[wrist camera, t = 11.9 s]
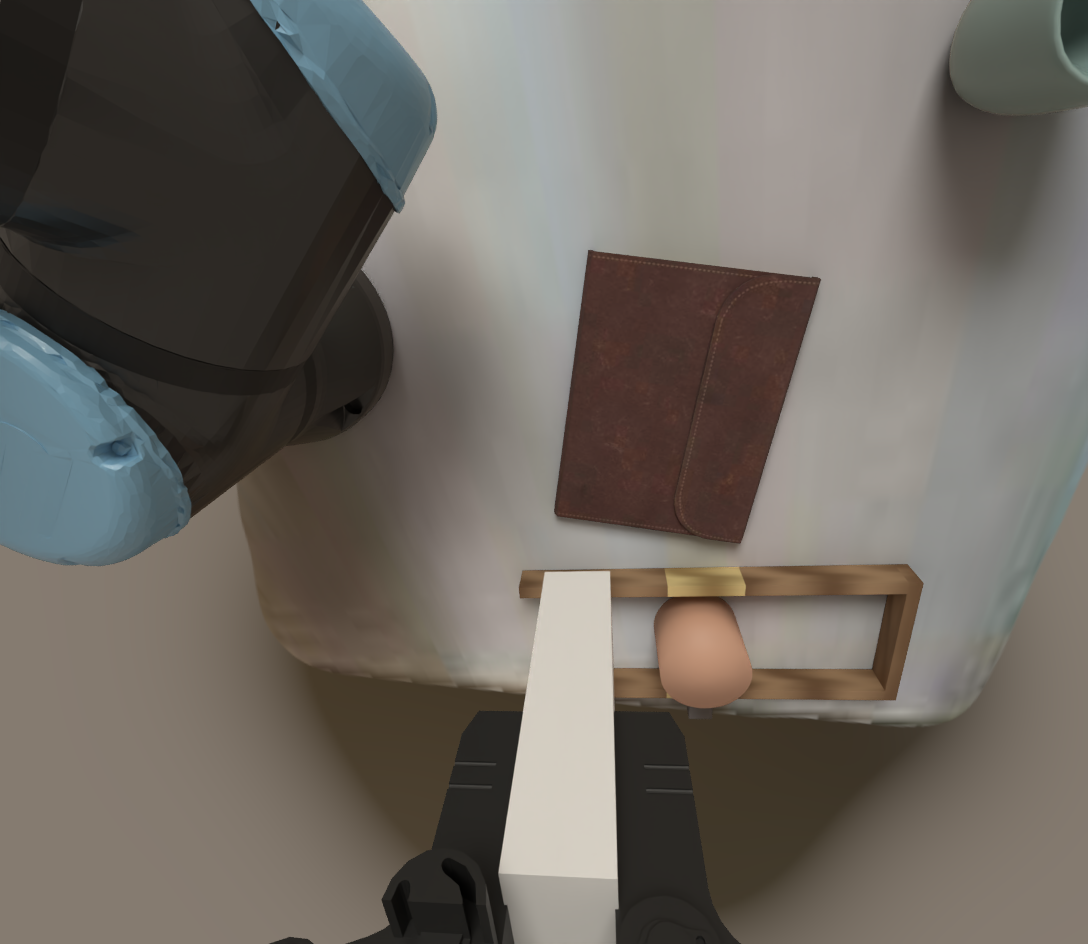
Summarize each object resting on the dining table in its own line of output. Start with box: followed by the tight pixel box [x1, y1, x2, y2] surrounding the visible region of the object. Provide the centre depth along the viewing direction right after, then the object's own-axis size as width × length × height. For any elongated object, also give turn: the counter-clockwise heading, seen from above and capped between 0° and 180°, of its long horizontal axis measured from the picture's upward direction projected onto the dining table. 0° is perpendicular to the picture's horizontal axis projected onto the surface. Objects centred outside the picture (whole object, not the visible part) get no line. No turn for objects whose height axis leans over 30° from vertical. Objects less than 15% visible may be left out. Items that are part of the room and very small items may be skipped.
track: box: [519, 564, 924, 719], centre depth 49 cm, size 31×14×2 cm, turn 95°
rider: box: [654, 596, 752, 708], centre depth 47 cm, size 7×7×6 cm
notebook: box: [554, 250, 821, 543], centre depth 41 cm, size 15×20×2 cm
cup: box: [949, 0, 1088, 116], centre depth 26 cm, size 8×8×10 cm
